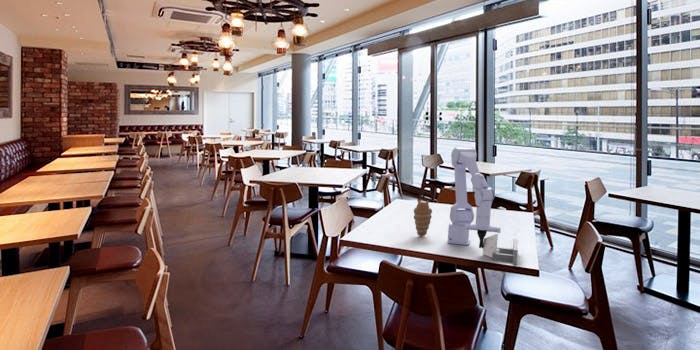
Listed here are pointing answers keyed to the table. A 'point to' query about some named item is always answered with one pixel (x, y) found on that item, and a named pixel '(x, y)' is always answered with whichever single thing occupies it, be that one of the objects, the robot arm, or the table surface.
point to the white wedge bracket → (490, 245)
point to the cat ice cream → (422, 217)
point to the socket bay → (507, 253)
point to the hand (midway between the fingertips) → (481, 247)
